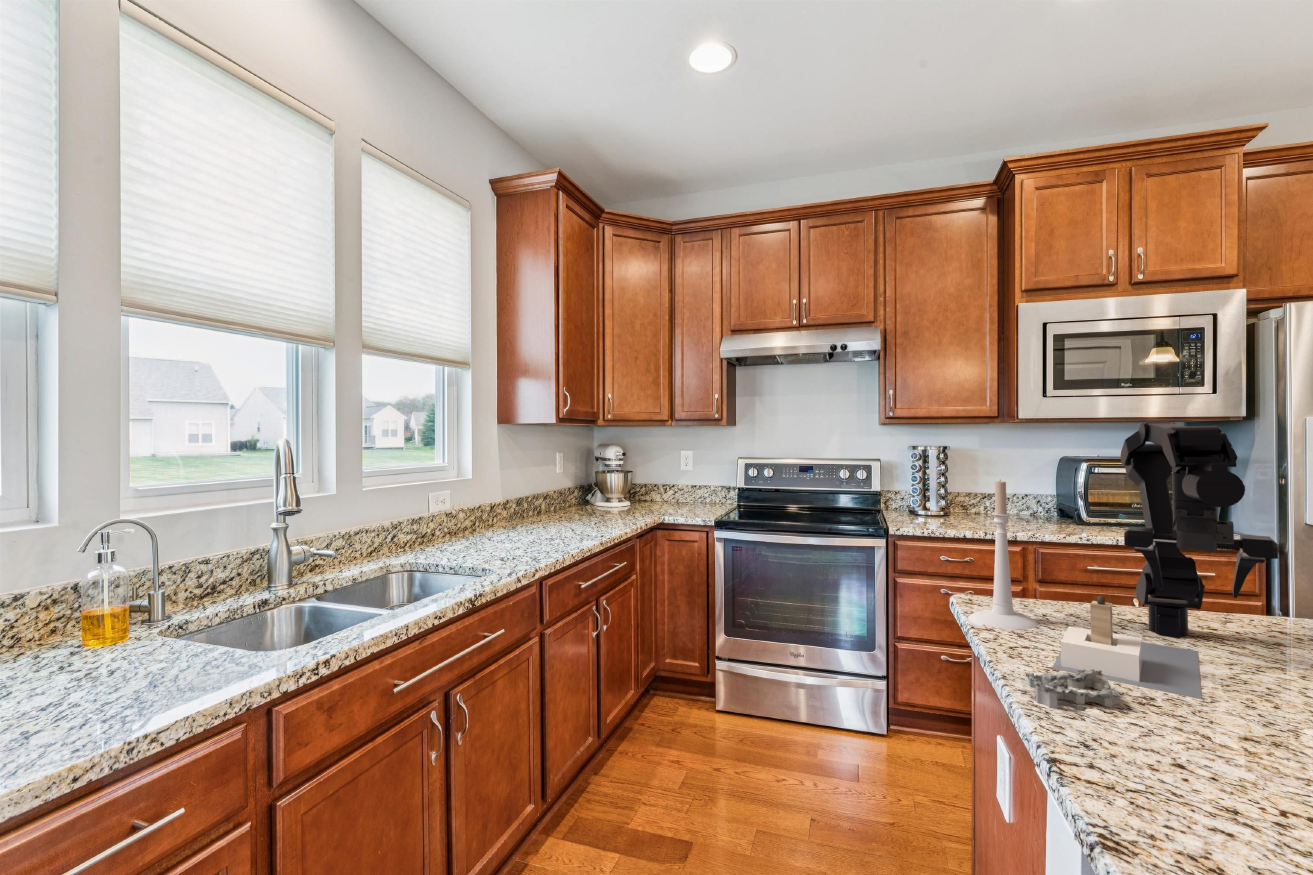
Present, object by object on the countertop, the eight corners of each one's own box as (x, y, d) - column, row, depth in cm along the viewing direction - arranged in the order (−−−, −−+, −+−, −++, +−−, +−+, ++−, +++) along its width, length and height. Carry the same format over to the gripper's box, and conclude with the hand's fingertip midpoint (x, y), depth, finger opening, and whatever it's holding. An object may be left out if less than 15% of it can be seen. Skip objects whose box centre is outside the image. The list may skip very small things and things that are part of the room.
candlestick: (1000, 638, 113) (997, 482, 113) (954, 618, 126) (951, 478, 126) (1056, 632, 116) (1053, 480, 116) (1005, 613, 129) (1002, 476, 129)
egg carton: (1105, 696, 88) (1105, 669, 88) (1125, 719, 81) (1125, 689, 81) (1023, 687, 92) (1023, 661, 92) (1036, 708, 85) (1036, 679, 85)
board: (1071, 635, 114) (1071, 629, 114) (1197, 656, 102) (1197, 651, 102) (1052, 674, 96) (1051, 668, 96) (1201, 705, 84) (1201, 698, 84)
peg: (1093, 659, 99) (1092, 593, 99) (1113, 663, 97) (1111, 596, 97) (1091, 664, 97) (1090, 596, 97) (1111, 668, 96) (1110, 599, 96)
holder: (1069, 648, 104) (1069, 626, 104) (1142, 662, 98) (1142, 638, 98) (1061, 665, 97) (1060, 641, 97) (1139, 681, 90) (1138, 655, 90)
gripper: (1121, 501, 99) (1122, 594, 99) (1281, 509, 87) (1283, 614, 87) (1125, 495, 108) (1127, 581, 108) (1272, 501, 95) (1274, 598, 95)
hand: (1196, 592), depth 99 cm, fingers open, 9 cm apart
